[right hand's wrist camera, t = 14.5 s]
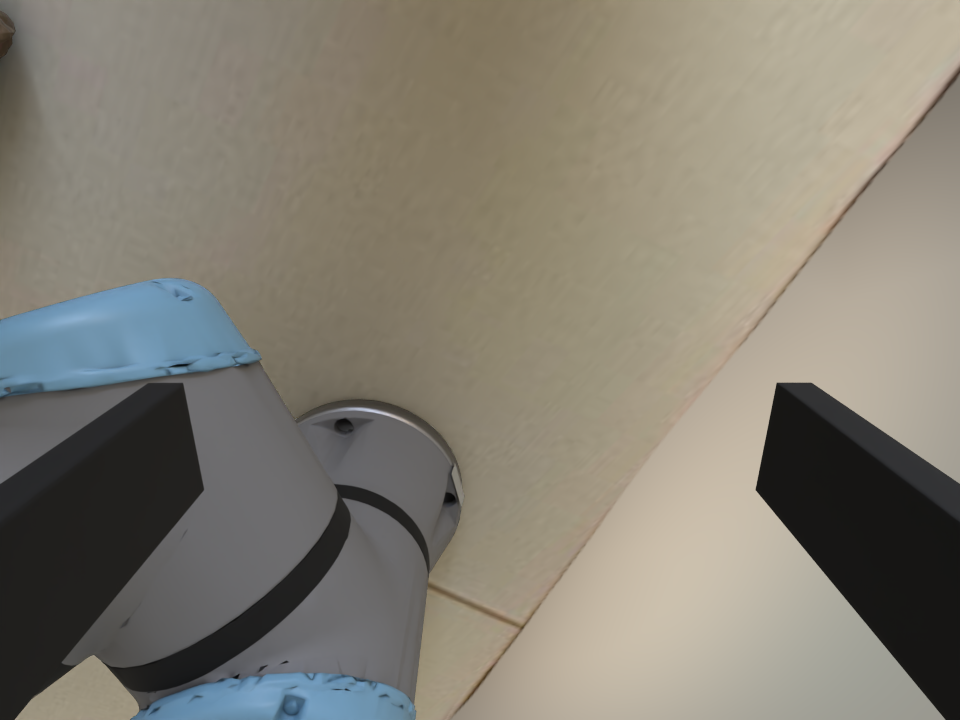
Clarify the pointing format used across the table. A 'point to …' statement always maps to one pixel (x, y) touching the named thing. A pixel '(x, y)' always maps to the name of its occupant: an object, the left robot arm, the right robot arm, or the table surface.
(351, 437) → the right robot arm
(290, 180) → the table surface
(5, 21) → the stone
